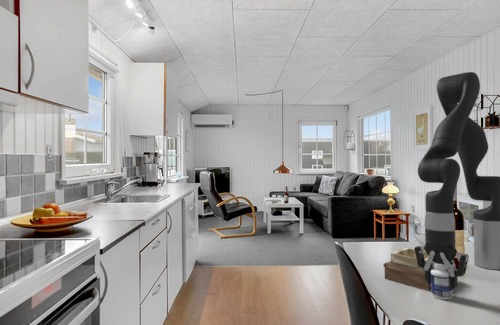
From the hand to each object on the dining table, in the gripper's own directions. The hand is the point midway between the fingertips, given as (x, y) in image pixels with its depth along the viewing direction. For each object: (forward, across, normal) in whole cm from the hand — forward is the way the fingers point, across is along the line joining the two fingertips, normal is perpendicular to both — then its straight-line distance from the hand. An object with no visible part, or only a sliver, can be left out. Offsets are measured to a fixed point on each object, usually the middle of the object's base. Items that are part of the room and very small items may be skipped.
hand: (440, 285), depth 93 cm
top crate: (-2, +11, -8) cm, 14 cm away
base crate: (+3, +11, -8) cm, 14 cm away
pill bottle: (+3, 0, 0) cm, 3 cm away
